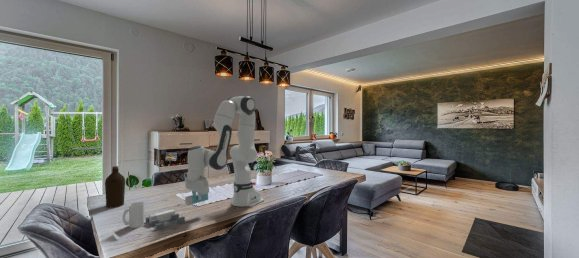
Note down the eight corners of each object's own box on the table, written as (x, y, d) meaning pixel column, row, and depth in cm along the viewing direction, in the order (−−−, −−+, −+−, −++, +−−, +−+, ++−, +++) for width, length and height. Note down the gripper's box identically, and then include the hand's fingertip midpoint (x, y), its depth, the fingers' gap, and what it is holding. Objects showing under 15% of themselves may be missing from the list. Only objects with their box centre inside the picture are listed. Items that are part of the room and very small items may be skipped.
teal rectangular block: (205, 198, 144) (205, 191, 144) (208, 199, 142) (208, 192, 142) (185, 204, 135) (185, 196, 135) (188, 205, 133) (187, 198, 133)
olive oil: (128, 204, 159) (128, 166, 158) (109, 209, 149) (109, 168, 149) (120, 201, 164) (120, 164, 163) (101, 206, 155) (101, 166, 154)
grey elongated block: (172, 216, 137) (172, 209, 137) (175, 218, 135) (175, 210, 135) (149, 222, 128) (149, 215, 128) (151, 224, 126) (151, 216, 126)
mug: (139, 223, 129) (140, 201, 129) (147, 226, 126) (147, 203, 126) (118, 230, 121) (119, 206, 120) (126, 233, 117) (126, 209, 117)
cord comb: (172, 216, 139) (172, 210, 139) (184, 223, 130) (184, 217, 130) (145, 224, 129) (145, 217, 129) (156, 232, 119) (156, 225, 119)
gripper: (211, 176, 133) (212, 201, 134) (192, 171, 147) (193, 194, 147) (200, 178, 129) (201, 204, 129) (182, 173, 142) (183, 196, 143)
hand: (197, 199), depth 138 cm, fingers closed on teal rectangular block, 3 cm apart
